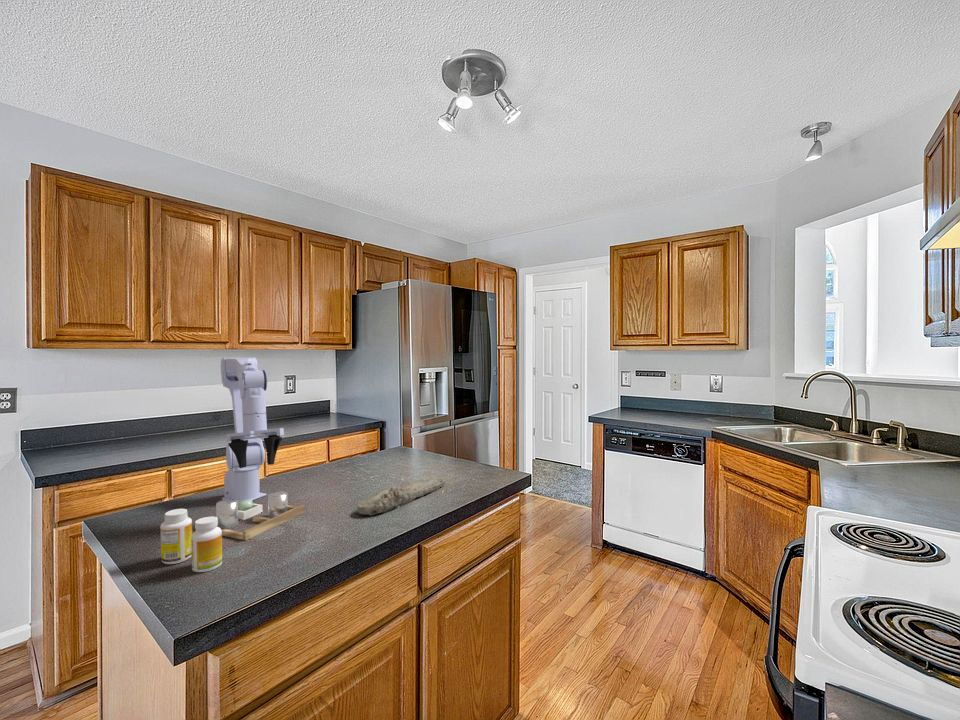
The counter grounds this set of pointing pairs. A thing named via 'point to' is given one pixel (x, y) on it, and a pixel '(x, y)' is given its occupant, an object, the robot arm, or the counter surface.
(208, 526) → the supplement bottle
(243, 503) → the button
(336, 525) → the counter surface
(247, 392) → the robot arm
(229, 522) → the billet
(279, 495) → the cylinder
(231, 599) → the counter surface
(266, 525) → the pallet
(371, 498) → the elongated rock
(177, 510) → the supplement bottle
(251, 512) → the button housing
